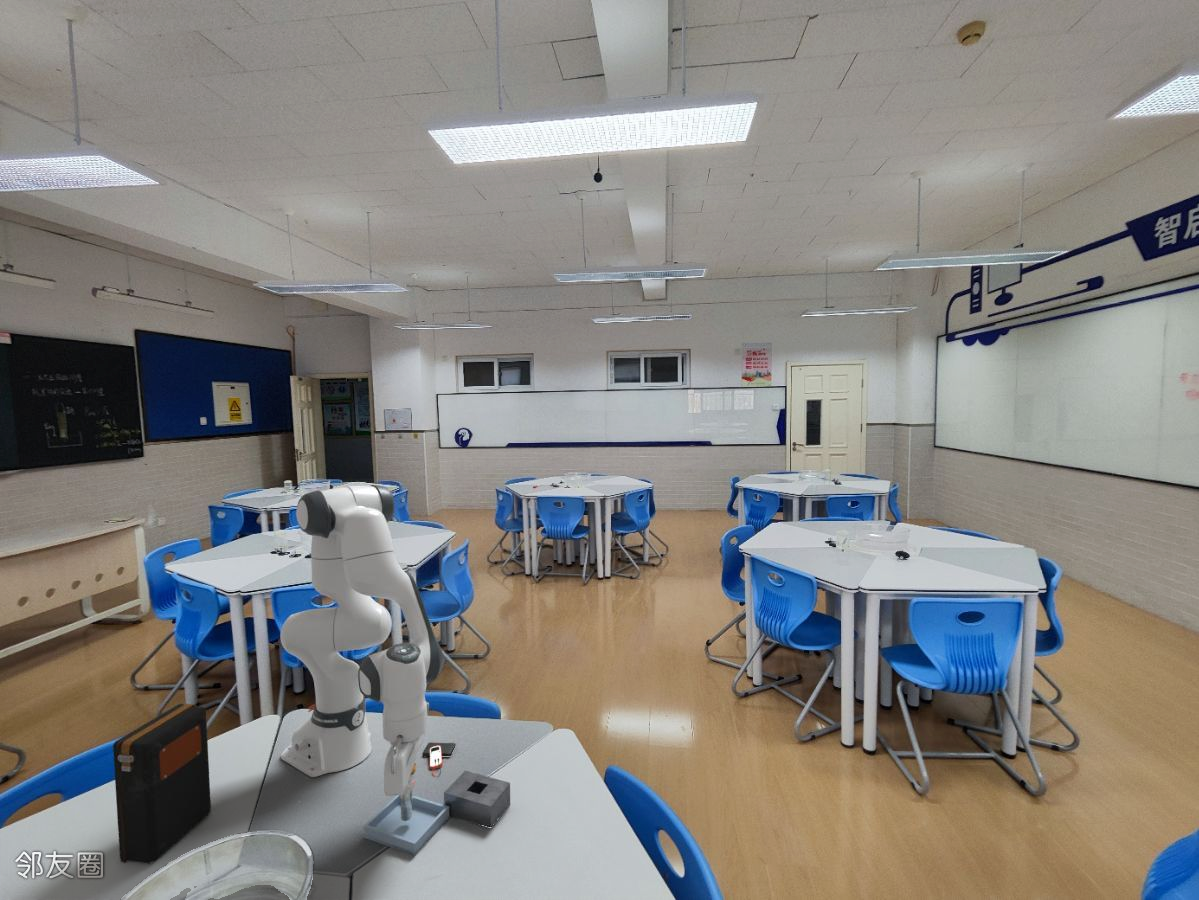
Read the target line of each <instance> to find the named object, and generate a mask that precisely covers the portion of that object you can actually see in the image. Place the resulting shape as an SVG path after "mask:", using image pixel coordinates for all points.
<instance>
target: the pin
mask: <svg viewBox="0 0 1199 900" xmlns="http://www.w3.org/2000/svg"><path fill="white" fill-rule="evenodd" d="M416 770H417V763H416V762H415V764H414V767H413V769H412V772H411V774H410V777H409V780H408V782H409V783H410V785H409V787H410V789H409V791H408V794H406V795H401V820H403V821H407V820H410V819H411V818H412V817H413V796H414V795H413V789H414V785H413V783H414V782H413V781H414V778H412V775H413V774H414V775H415V773H416Z"/></svg>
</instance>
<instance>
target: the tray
mask: <svg viewBox="0 0 1199 900" xmlns="http://www.w3.org/2000/svg"><path fill="white" fill-rule="evenodd" d="M449 818H450V816H449V806H446V805H444V803H443V804H442V803H439V802H437V801H436V802H435V801H433V800H429V799H425V798H423V797H420V796H416V795H413V817H412V818H411V819H410V820H407V821H403V820H401V795H395V797H394V796H393V798H392V799H391V800H390V801H389V802H388V803H387V804H386V805H385V806H384V807H383V808H381V809H380V810H379V811H378V812H377V813H376V814H375V815H374V816H372V817H371V819H370V820H368V821H367V822H365V824H364V825H362V826H363V827H362V828H363V838H364V839H367V840H370V841H373V842H375V843H378V844H381V845H384V846H387V847H389V848H392V849H396V850H398V851H401V852H404V853H407V854H409V855H411V856H416V855H417V854H418V853H419V852H420V851H421V850H422V848H423V847H424V846H426V844H427V843H428V841H430V840H431V839H432V837H433V836H434V835H435V834H436V833H437V832H438V831H439V830H440V828H441V827H442V826H443V825H444V824H445V823H446V822H447V821H448V819H449Z"/></svg>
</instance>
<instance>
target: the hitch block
mask: <svg viewBox="0 0 1199 900" xmlns="http://www.w3.org/2000/svg"><path fill="white" fill-rule="evenodd" d="M509 804H510V805H511V782H509V781H505V780H501V779H498V778H494V777H491V776H486V775H483V774H479V773H475V772H472V771H468V770H464V771H463V772H462V773H461V774H460V775H459V776H458V777H457V779H455V780H454V782H453V783H451V785H450V786H448V787H447V789H446V790H445V791H444V792H443V805H446V806H449V817H452V818H455V819H459V820H462V821H464V822H469V823H471V822H472V823H471V824H474V823H476V824H475V825H478V824H480V825H479V826H481V825H484V826H487V827H492V826H493V824H494V823H495V822H496V821H497V819H498V818H499V817H500V816H501V817H502V815H503V814H504V813H505V812H504V810H505V809H506V808H507V806H508V805H509ZM510 805H509V806H510ZM509 806H508V807H509ZM507 809H508V808H507ZM507 809H506V810H507ZM506 810H505V811H506ZM503 812H504V813H503ZM502 813H503V814H502ZM501 814H502V815H501ZM501 817H500V818H501ZM500 818H499V819H500ZM499 819H498V820H499ZM497 822H498V821H497ZM497 822H496V823H497ZM496 823H495V824H496ZM495 824H494V825H495ZM484 826H483V827H484ZM487 827H486V828H487ZM493 827H494V826H493ZM493 827H492V828H493Z"/></svg>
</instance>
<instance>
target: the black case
mask: <svg viewBox="0 0 1199 900" xmlns="http://www.w3.org/2000/svg"><path fill="white" fill-rule="evenodd" d="M207 720H208V719H207V709H206V707H204V706H197V705H196V704H195V703H185V704H184V703H177V705H175V706H173V707H171V708H169V709H167V710H166V711H165V712H163V713H160V714H159V715H158V716H156V717H154V718H152V719H151V720H149V721H148V722H146V723H145V724H142V725H141V726H139V727H138V728H136V729H134V730H133V731H131V732H129V733H128V734H126V735H124V736H123V737H121V738H119V739H117V740H116V741H114V743H113V745H112V748H113V749H112V751H113V765H114V783H115V797H116V800H115V801H116V813H117V814H116V815H117V831H118V847H119V848H118V849H119V860H120V862H121V863H127V862H135V863H146V864H152V863H154V862H155V861H157V860H158V859H159V858H160V857H162V856H164V854H165V853H166V852H167V851H169V849H171V848H172V847H173V846H174V845H176V844H177V843H178V842H179V841H180V840H181V839H182V838H184V837H185V836H186V835H187V834H188V833H189V832H190V831H192V830H193V829H194V828H195V827H196V826H197V825H199V824H200V823H201V822H202V821H203V820H204V819H205V818H207V817H208V816H209V815H210V814H211V813H212V812H211V811H212V804H211V802H212V801H211V787H210V785H211V784H210V782H211V781H210V764H209V762H210V761H209V746H208V721H207Z"/></svg>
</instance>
